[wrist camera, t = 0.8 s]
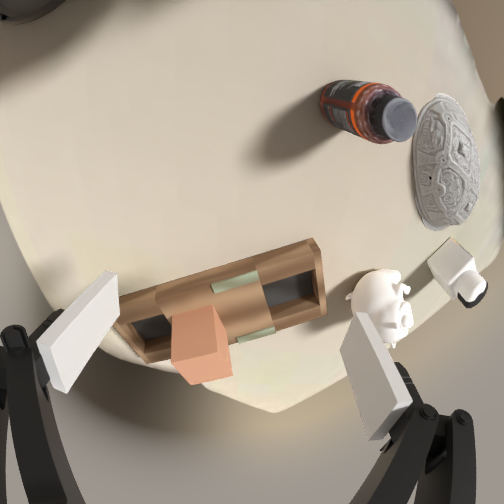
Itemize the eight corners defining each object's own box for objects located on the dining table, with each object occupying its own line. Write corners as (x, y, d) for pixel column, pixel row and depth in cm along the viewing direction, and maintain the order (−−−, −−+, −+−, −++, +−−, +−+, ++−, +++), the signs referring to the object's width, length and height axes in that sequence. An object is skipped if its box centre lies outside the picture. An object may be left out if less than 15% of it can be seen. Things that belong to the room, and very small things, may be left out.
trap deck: (108, 300, 39) (103, 316, 36) (312, 237, 38) (321, 251, 36) (148, 350, 46) (147, 365, 44) (320, 302, 46) (327, 316, 43)
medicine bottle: (457, 255, 47) (492, 292, 37) (433, 278, 49) (467, 318, 40) (450, 235, 44) (491, 274, 34) (425, 260, 46) (463, 303, 36)
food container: (421, 248, 43) (447, 267, 38) (388, 109, 30) (424, 114, 25) (471, 206, 43) (496, 220, 37) (450, 80, 30) (483, 84, 24)
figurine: (337, 311, 48) (365, 365, 39) (342, 269, 43) (378, 325, 33) (385, 298, 49) (416, 345, 39) (394, 256, 44) (434, 304, 34)
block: (172, 315, 38) (171, 362, 32) (212, 304, 38) (217, 351, 32) (188, 340, 42) (190, 385, 35) (226, 330, 42) (232, 375, 35)
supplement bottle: (346, 136, 31) (402, 166, 22) (308, 108, 28) (358, 126, 19) (371, 99, 29) (434, 117, 19) (336, 69, 26) (396, 72, 17)
